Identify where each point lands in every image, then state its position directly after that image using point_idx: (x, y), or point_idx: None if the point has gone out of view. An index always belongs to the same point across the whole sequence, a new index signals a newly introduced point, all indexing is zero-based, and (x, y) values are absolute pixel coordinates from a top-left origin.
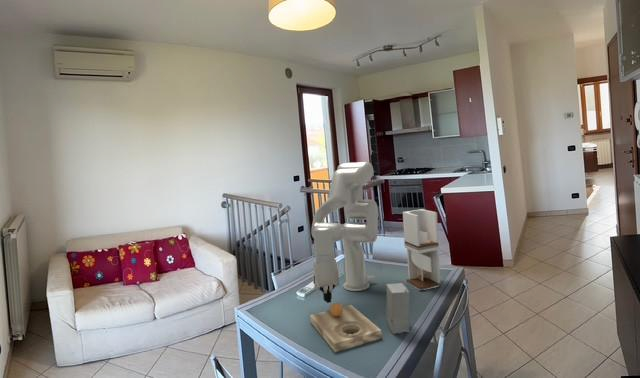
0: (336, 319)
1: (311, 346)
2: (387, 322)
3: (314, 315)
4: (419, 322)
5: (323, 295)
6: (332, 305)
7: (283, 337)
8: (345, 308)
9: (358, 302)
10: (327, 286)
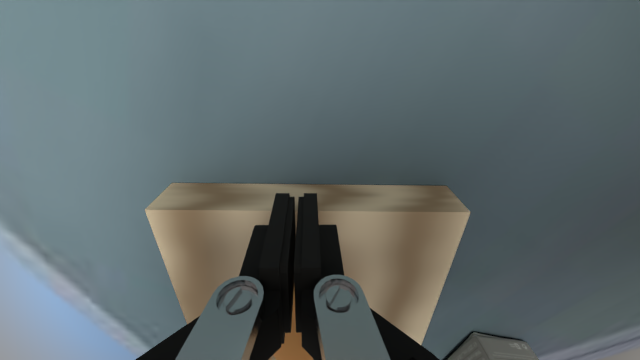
0: None
1: (155, 334)
2: (470, 354)
3: (176, 227)
4: (559, 357)
5: (246, 258)
6: (278, 357)
7: (16, 247)
8: (402, 239)
9: (591, 85)
10: (323, 350)
